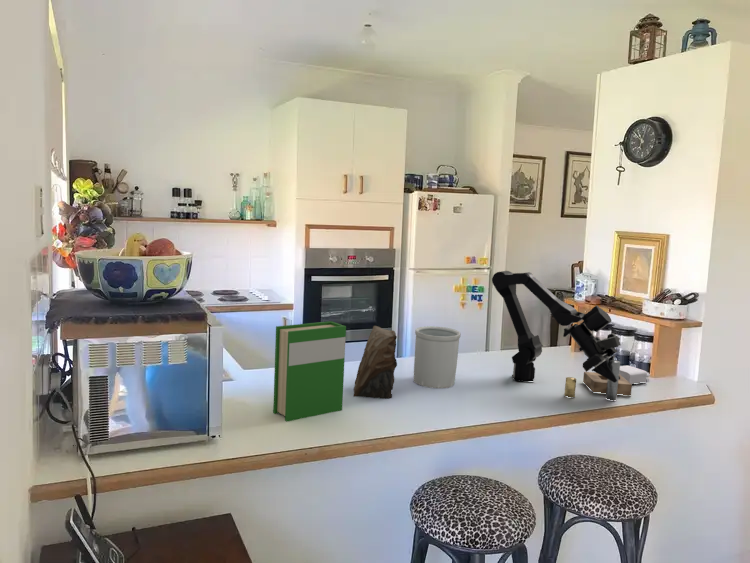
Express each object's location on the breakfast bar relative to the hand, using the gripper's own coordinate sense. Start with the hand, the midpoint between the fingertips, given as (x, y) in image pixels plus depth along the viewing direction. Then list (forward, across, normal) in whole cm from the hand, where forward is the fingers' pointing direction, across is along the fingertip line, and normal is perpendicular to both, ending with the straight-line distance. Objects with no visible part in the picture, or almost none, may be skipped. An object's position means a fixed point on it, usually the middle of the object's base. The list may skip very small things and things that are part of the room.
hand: (617, 380), depth 187 cm
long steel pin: (+4, 0, +6) cm, 7 cm away
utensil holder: (-31, -26, +41) cm, 58 cm away
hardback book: (-39, -76, +48) cm, 98 cm away
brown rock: (-37, -51, +47) cm, 78 cm away
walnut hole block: (+1, +10, +9) cm, 13 cm away
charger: (+4, +30, +6) cm, 30 cm away
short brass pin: (-4, -7, +13) cm, 16 cm away
